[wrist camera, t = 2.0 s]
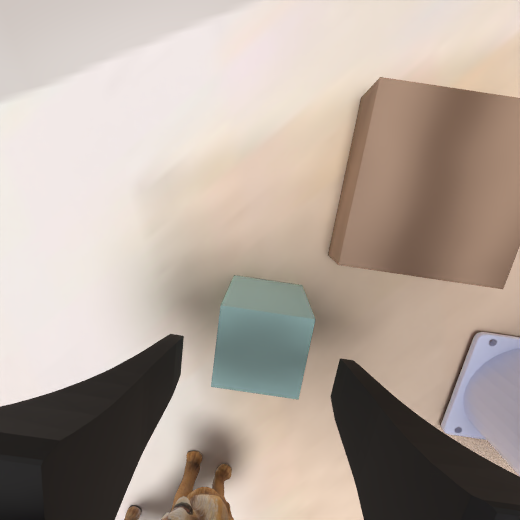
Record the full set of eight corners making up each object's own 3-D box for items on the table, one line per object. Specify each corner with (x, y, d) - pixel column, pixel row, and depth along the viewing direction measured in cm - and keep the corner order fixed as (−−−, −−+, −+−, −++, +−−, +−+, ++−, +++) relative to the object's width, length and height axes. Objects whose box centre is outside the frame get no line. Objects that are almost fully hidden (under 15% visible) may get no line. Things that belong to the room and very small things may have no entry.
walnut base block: (521, 121, 14) (573, 106, 12) (468, 275, 16) (503, 289, 14) (361, 97, 14) (380, 77, 12) (328, 254, 16) (338, 264, 14)
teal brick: (301, 284, 17) (315, 319, 12) (290, 345, 18) (298, 399, 13) (234, 275, 17) (220, 305, 12) (226, 336, 18) (210, 386, 13)
